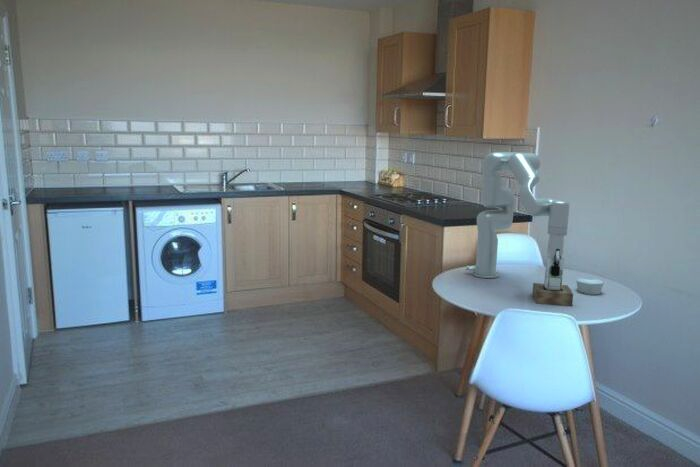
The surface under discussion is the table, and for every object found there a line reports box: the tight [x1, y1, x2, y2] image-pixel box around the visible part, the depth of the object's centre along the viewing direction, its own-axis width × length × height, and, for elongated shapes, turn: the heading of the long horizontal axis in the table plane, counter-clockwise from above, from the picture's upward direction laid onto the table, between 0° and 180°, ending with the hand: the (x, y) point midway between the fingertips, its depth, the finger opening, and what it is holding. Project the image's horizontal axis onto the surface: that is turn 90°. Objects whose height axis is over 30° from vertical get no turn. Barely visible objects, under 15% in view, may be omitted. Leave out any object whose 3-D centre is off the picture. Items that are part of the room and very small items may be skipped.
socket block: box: [532, 282, 574, 307], centre depth 243 cm, size 14×14×5 cm
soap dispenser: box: [543, 253, 565, 291], centre depth 242 cm, size 6×6×14 cm
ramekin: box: [575, 277, 604, 296], centre depth 257 cm, size 11×11×5 cm
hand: (553, 273), depth 242 cm, fingers closed on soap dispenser, 6 cm apart
